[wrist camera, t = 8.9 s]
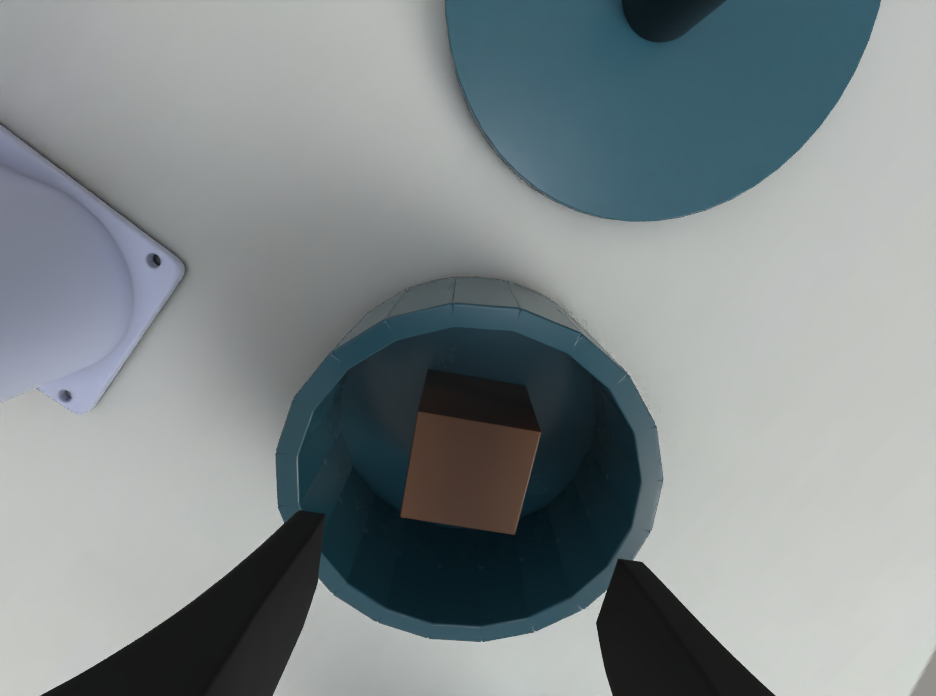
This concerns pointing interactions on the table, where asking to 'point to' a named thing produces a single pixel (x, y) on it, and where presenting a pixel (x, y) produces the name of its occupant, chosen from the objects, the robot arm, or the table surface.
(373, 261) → the table surface
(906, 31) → the table surface
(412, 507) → the block
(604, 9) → the lid
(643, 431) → the pot
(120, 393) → the table surface
